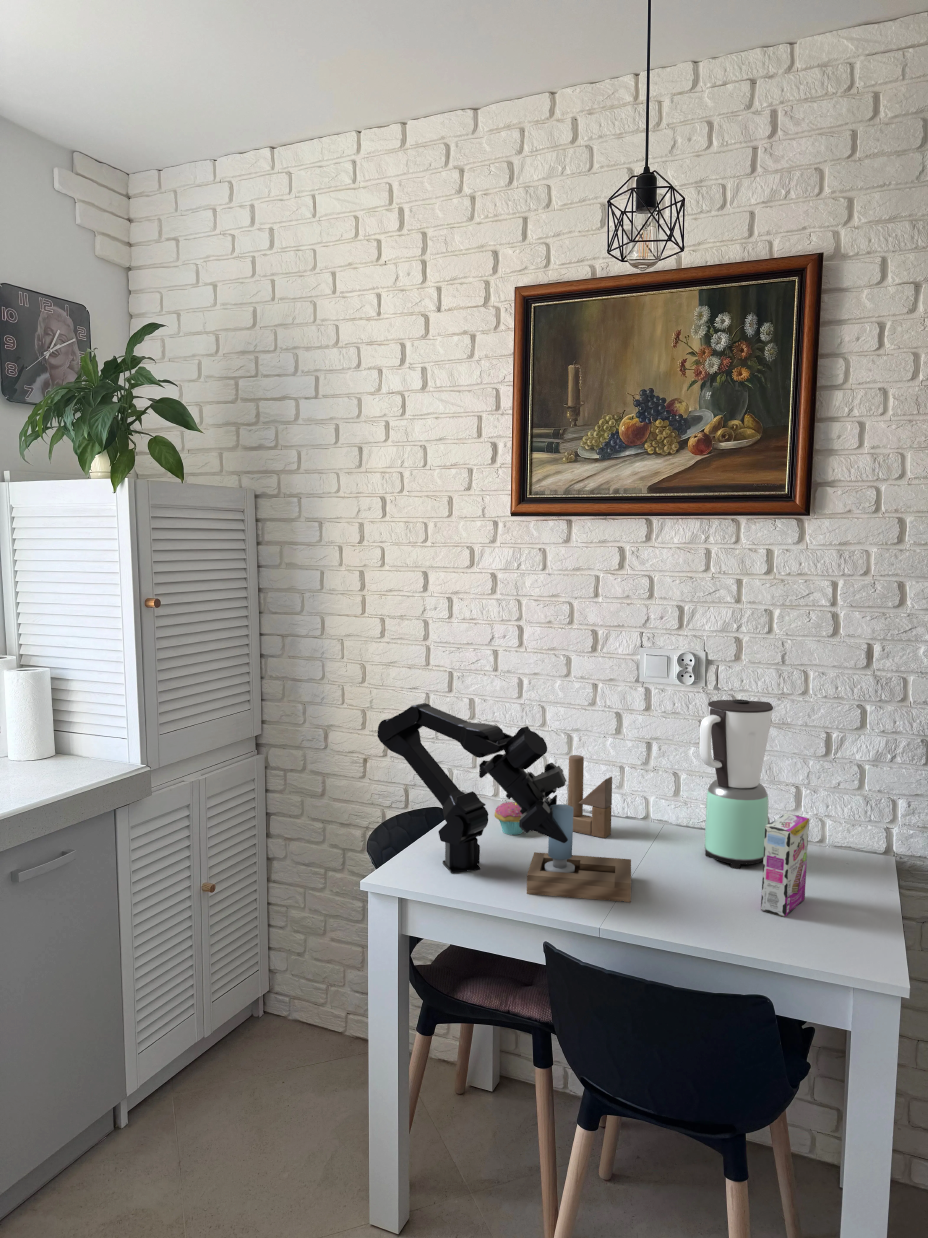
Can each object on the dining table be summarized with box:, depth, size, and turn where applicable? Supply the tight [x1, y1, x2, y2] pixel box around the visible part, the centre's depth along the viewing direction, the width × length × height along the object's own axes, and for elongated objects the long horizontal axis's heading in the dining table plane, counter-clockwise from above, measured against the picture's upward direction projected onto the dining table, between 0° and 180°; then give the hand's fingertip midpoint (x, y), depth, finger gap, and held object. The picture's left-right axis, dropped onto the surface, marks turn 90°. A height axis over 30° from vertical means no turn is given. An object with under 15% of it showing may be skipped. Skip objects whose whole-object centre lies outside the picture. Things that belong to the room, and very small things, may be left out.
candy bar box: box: [760, 813, 810, 918], centre depth 165 cm, size 11×5×16 cm, turn 141°
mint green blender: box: [698, 698, 774, 870], centre depth 189 cm, size 19×13×35 cm
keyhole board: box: [526, 851, 632, 903], centre depth 175 cm, size 20×13×4 cm, turn 79°
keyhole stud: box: [545, 803, 575, 873], centre depth 175 cm, size 6×6×13 cm
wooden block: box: [567, 754, 613, 839], centre depth 207 cm, size 4×11×18 cm, turn 55°
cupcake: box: [494, 801, 524, 836], centre depth 207 cm, size 9×8×12 cm
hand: (567, 837), depth 175 cm, fingers closed on keyhole stud, 5 cm apart
